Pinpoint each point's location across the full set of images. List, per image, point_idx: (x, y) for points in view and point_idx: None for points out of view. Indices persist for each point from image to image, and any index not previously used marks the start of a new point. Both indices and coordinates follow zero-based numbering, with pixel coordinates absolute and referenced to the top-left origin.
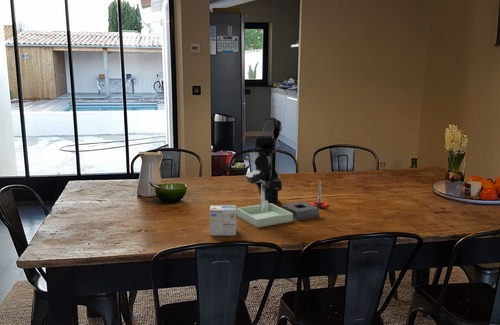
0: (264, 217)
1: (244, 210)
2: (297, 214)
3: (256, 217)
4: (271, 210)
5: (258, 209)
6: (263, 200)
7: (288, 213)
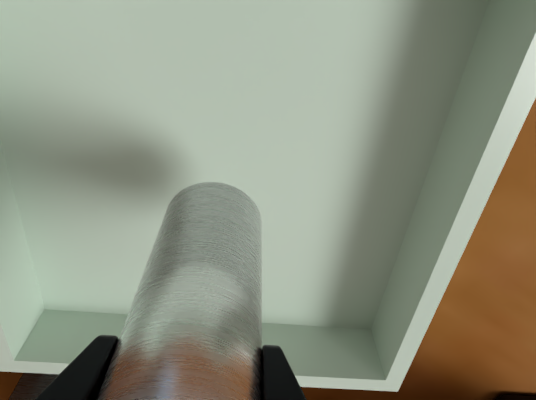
0: (210, 176)
1: (489, 76)
2: (20, 387)
3: (259, 105)
4: (347, 327)
5: (412, 248)
6: (137, 310)
7: (51, 353)
